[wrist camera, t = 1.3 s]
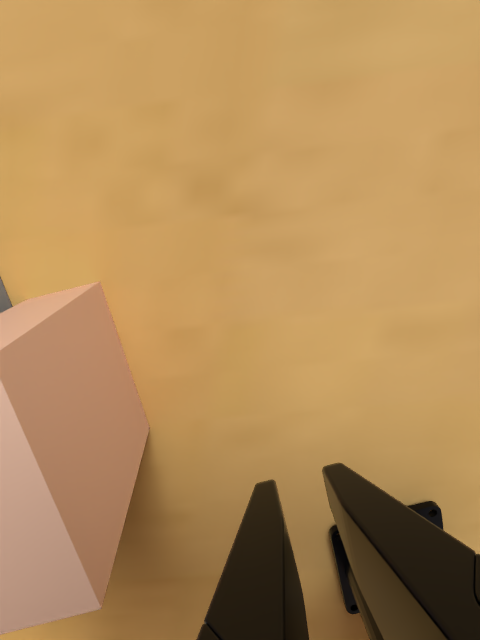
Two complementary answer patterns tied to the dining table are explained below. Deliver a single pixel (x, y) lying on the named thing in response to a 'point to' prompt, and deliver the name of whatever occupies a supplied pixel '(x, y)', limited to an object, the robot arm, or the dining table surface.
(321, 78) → the dining table surface
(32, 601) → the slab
